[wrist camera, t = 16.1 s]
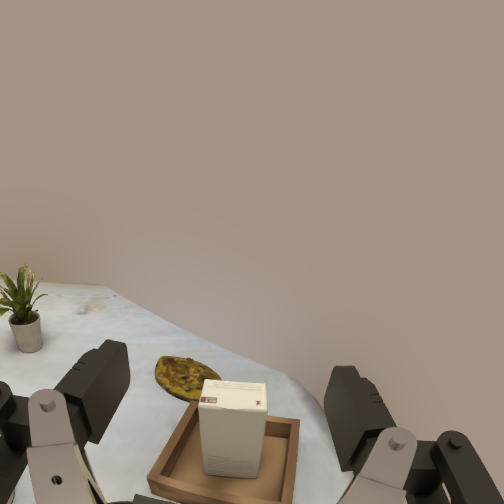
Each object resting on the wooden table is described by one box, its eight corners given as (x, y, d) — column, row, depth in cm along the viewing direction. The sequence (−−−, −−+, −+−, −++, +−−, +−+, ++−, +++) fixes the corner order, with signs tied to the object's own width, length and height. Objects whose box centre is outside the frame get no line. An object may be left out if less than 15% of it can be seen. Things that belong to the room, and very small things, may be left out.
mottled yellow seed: (140, 377, 43) (205, 421, 35) (134, 355, 42) (202, 399, 34) (178, 354, 51) (243, 387, 43) (175, 333, 50) (243, 366, 42)
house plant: (4, 329, 43) (-9, 256, 40) (57, 325, 52) (48, 252, 48) (-4, 364, 32) (-26, 277, 29) (59, 359, 41) (44, 272, 37)
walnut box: (152, 493, 21) (146, 477, 20) (192, 418, 34) (191, 400, 34) (284, 523, 19) (291, 510, 18) (295, 437, 32) (299, 419, 31)
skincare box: (257, 453, 28) (269, 379, 26) (257, 481, 24) (271, 410, 22) (205, 449, 28) (204, 374, 26) (201, 477, 24) (197, 404, 21)
